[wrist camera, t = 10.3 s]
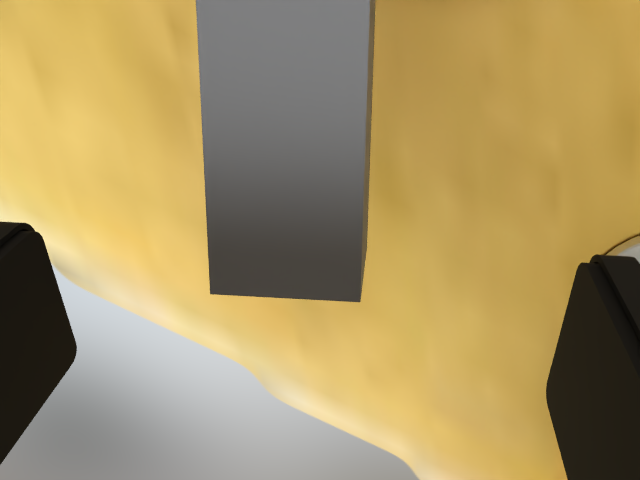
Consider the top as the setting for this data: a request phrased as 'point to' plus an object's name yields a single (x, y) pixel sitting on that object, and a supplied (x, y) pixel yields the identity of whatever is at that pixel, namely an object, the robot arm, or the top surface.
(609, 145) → the top surface
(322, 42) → the carton lid
